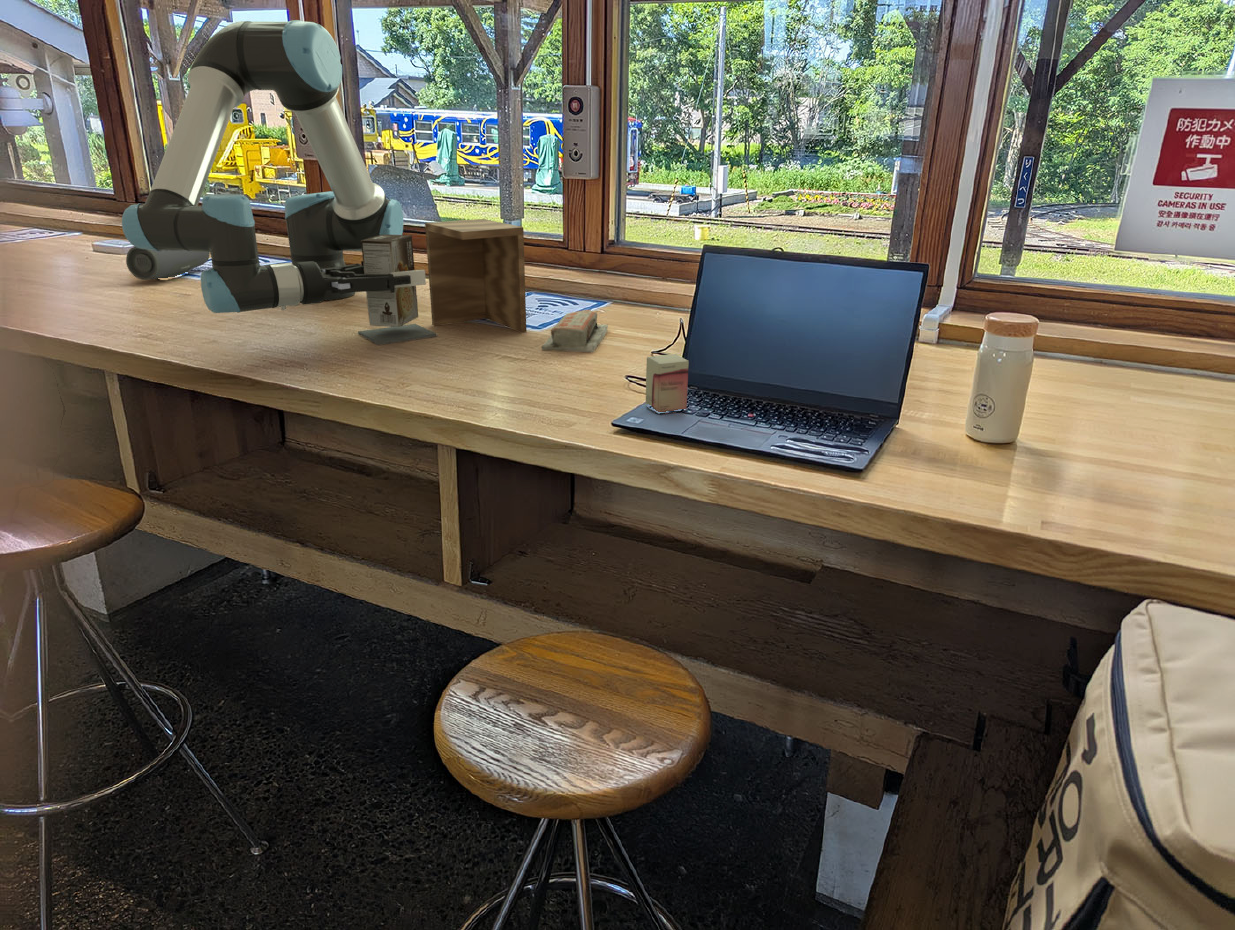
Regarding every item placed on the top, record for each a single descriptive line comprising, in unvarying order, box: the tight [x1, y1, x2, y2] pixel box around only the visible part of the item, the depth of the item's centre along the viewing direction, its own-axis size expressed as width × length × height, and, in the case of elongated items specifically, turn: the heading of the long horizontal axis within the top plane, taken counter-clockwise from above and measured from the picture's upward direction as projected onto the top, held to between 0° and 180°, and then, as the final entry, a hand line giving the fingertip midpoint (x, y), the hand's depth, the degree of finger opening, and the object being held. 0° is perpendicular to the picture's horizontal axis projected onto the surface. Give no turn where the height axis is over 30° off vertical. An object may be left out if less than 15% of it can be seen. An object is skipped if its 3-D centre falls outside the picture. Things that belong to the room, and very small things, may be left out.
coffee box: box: [361, 234, 419, 328], centre depth 165 cm, size 9×6×16 cm
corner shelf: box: [424, 218, 527, 334], centre depth 172 cm, size 16×13×20 cm
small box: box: [645, 353, 690, 412], centre depth 128 cm, size 5×4×8 cm
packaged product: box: [541, 309, 609, 353], centre depth 168 cm, size 18×5×10 cm
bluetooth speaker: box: [125, 246, 211, 281], centre depth 223 cm, size 23×9×10 cm, turn 172°
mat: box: [357, 323, 438, 346], centre depth 170 cm, size 10×12×1 cm
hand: (412, 272), depth 167 cm, fingers closed on coffee box, 10 cm apart
